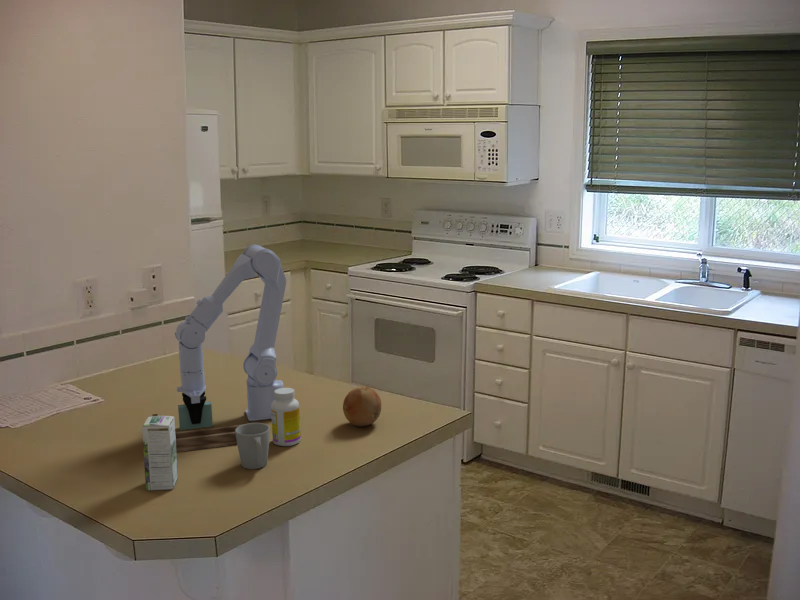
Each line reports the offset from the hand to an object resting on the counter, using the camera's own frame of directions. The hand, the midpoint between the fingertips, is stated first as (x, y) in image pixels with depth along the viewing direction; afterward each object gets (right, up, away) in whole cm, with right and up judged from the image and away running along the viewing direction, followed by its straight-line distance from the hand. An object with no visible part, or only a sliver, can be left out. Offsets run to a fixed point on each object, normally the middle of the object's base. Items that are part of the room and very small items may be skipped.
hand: (195, 421), depth 210 cm
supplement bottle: (+24, -4, -10) cm, 26 cm away
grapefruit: (+42, -1, +1) cm, 42 cm away
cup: (+19, -7, -24) cm, 31 cm away
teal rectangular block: (0, -1, 0) cm, 2 cm away
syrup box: (+1, -9, -32) cm, 33 cm away
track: (+4, -4, -10) cm, 11 cm away
